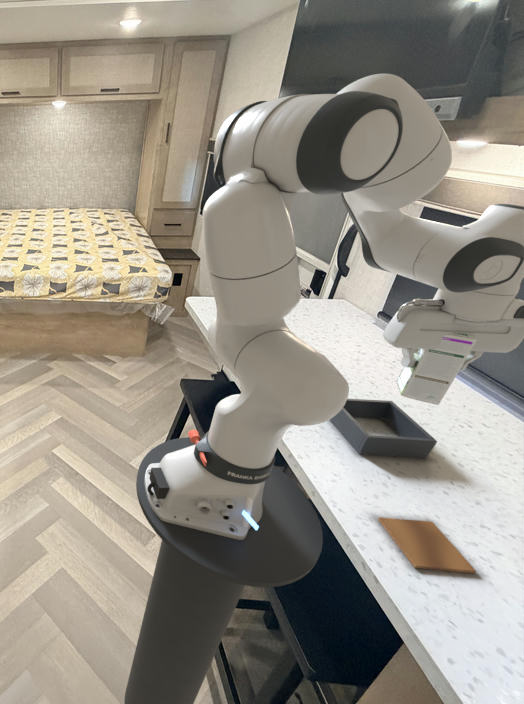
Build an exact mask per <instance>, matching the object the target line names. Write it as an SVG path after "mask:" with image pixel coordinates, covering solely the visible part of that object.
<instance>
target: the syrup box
mask: <svg viewBox="0 0 524 704" xmlns="http://www.w3.org/2000/svg"><path fill="white" fill-rule="evenodd" d="M476 342H477V339H476V338H475V337H474V335H470V334H458V333H448V334H447V335H444V336H443V338H442V340H441V342H440V344H439V346H438V347H437V348H436V349H419V351H418V353H414V358H415V359H417V360H418V363H417V364H416V367H415V368H408V367H404V366H403V368H402V370H401V372H400V374H399V375H398V378H397V379H396V385H397V388H398V390H399V392H400V395H401V397H404V398H408V399H410V400H414V401H419V402H423V403H428V404H431V405H436V406H439V405H440V403H441V401H442V400H443V398H444V397H445V395H446V394H447V392H448V390H449V389H450V387H451V385H452V384H453V382H454V381H455V379H456V377H457V375H458V373H459V372H460V371H461V370H460V369H461V367H462V365H463V363H464V362H465V360H466V358H467V357H468V355H469V353H470V351H471V350H472V348H473V346H474V345H475V343H476Z"/></svg>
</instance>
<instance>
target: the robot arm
mask: <svg viewBox="0 0 524 704" xmlns="http://www.w3.org/2000/svg"><path fill="white" fill-rule="evenodd" d="M452 162H453V148H452V145H451V141H450V139H449V136H448V134H447V133H446V131H445V129H444V128H443V126H442V123H441V122H440V120H439V118H438V117H437V116H436V113H435V112H434V111H433V108H431V106H430V105H429V104H428V102H427V101H426V100H425V99H424V97H422V95H421V94H420V93H419V92H418V91H417V90H416V89H415V87H413V86H411V85H410V84H409V83H408V82H407V81H406V80H404V78H402V77H400V76H398V75H397V74H393V73H376V74H370V75H367V76H364V77H362V78H359V79H356V80H355V81H352V82H351V83H349V84H348V85H346V86H344V87H343V88H341V89H340V90H339V91H338V92H336V93H318V94H317V93H316V94H309V93H299V94H294V95H287V96H282V97H279V98H275V99H271V100H260V101H255V102H252V103H250V104H248V105H245V106H244V107H241V108H240V109H238V110H236V111H234V112H233V113H231V114H230V115H229V116H228V117H227V118H226V119H225V120H224V122H223V123H222V124H221V126H220V128H219V130H218V131H217V135H216V138H215V142H214V147H213V166H214V168H213V174H212V175H213V179H214V181H215V183H216V185H217V186H218V188H219V189H217V190H216V191H214V192H213V193H212V194H211V195H210V196H209V197H208V199H207V200H206V201H205V203H204V206H203V209H202V224H201V225H202V226H201V227H202V243H203V250H204V251H203V252H204V257H205V263H206V267H207V272H208V276H209V279H210V283H211V289H212V292H213V297H214V301H215V307H216V316H214V318H213V319H212V320H211V322H210V323H209V325H208V329H207V340H208V342H209V344H210V346H211V348H212V350H213V352H214V354H215V355H216V357H217V358H218V359H219V361H220V362H221V363H222V364H223V365H224V366H225V367H226V368H227V369H228V370H229V371H230V372H231V373H232V374H233V375H234V377H235V378H237V379H238V381H239V383H240V390H241V391H240V393H237V394H236V393H235V394H231V395H229V396H226V397H224V398H223V399H221V400H220V401H219V402H217V404H216V405H215V407H214V408H215V409H214V412H213V416H212V419H211V423H210V427H209V430H208V431H207V432H205V433H204V435H202V437H201V436H200V433H199V431H198V430H197V429H190V430H188V432H187V435H188V437H190V441H191V442H192V443H195V445H192V446H189V447H187V448H184V449H181V450H178V451H175V452H171V453H168V454H166V455H165V456H164V457H163V458H162V460H161V462H160V463H153V464H150V465H149V466H148V468H147V470H146V473H145V479H144V482H145V490H146V494H147V498H148V501H149V503H150V506H151V508H152V509H153V511H154V512H155V514H156V515H157V516H158V517H159V518H160V519H161V520H162V521H164V522H168V523H172V524H176V525H180V526H184V527H188V528H192V529H197V530H201V531H205V532H209V533H213V534H217V535H221V536H225V537H229V538H233V539H237V540H243V539H245V537H246V535H247V533H248V530H249V529H250V528H251V527H252V526H253V527H254V529H255V530H258V527H259V526H258V525H257V524H256V523H258V522H259V520H260V519H261V517H262V513H263V508H262V496H263V489H264V485H265V480H267V479H268V477H269V476H270V473H271V471H272V468H273V465H274V466H275V462H276V452H277V450H278V447H279V445H280V443H281V441H282V439H283V437H284V434H285V433H286V431H288V429H290V428H291V427H293V426H298V427H299V426H300V427H310V426H316V425H320V424H323V423H326V422H328V421H330V419H331V418H333V417H334V416H336V415H337V414H338V413H339V412H340V411H341V409H342V408H343V407H344V405H345V403H346V401H347V399H349V393H350V386H349V382H348V381H347V379H346V378H345V377H344V375H343V374H342V373H341V372H340V371H339V369H338V368H336V366H335V365H334V364H333V363H332V362H331V360H329V358H328V357H326V355H324V354H323V353H322V352H320V351H318V350H317V349H316V348H314V347H313V346H311V345H310V344H308V342H306V341H305V340H303V339H302V338H300V337H299V336H297V335H296V334H295V333H293V332H292V331H291V329H290V328H289V327H288V325H287V323H286V322H285V317H286V316H288V315H289V314H290V313H291V312H292V311H293V310H294V309H296V308H297V306H298V305H299V303H300V301H301V298H302V288H301V279H300V269H299V260H298V253H297V245H296V240H295V239H296V238H295V233H294V228H293V224H292V221H291V213H292V208H293V203H294V201H295V198H296V197H297V194H298V193H312V194H315V195H322V196H324V195H325V196H326V195H337V194H340V197H341V200H342V203H343V205H344V207H345V209H346V211H347V213H348V215H349V218H350V219H351V221H352V223H353V224H354V226H355V228H356V230H357V232H358V235H359V237H360V241H361V250H362V251H361V252H362V256H363V259H364V262H365V263H366V264H367V265H368V267H371V268H373V269H377V270H381V271H384V272H388V273H392V274H396V275H398V276H401V277H404V278H407V279H410V280H412V281H414V282H415V281H416V282H419V283H421V284H424V285H427V286H431V287H433V288H436V289H437V290H436V292H435V294H434V296H433V298H432V299H423V298H414V299H411V300H410V301H407V302H406V303H403V304H401V305H400V307H399V309H398V311H396V313H394V315H393V317H392V318H391V319H390V321H388V324H387V325H386V326H385V328H384V330H383V332H382V338H383V339H384V341H385V342H386V343H388V344H389V345H390V346H392V347H394V348H397V349H400V350H401V353H402V357H401V360H400V362H399V363H400V365H401V366H403V368H404V367H408V368H415V367H416V364H417V363H418V360H417V359H415V358H414V353H418V351H419V349H436V348H437V347H438V346H439V344H440V342H441V340H442V338H443V336H444V335H447V334H448V333H458V334H470V335H474V337H475V338H476V339H477V342H476V343H475V345H474V346H473V348H472V350H471V351H470V353H469V355H468V357H467V358H466V360H465V362H464V363H463V365H462V367H461V369H460V370H459V371H465V370H466V369H467V367H468V365H469V364H471V363H472V362H475V361H476V360H478V359H479V358H481V357H482V355H483V354H484V353H499V354H507V353H509V352H512V351H513V350H515V349H517V348H518V347H519V346H520V345H521V343H522V342H523V340H524V300H523V299H521V298H518V297H517V295H518V293H519V291H520V288H521V283H522V281H523V279H524V206H523V205H516V204H510V203H495V204H491V205H489V206H488V207H487V208H486V209H485V210H484V211H483V213H482V214H481V215H480V217H479V218H478V219H477V220H476V221H473V222H471V223H468V224H465V225H461V226H457V225H452V224H448V223H443V222H437V221H433V220H429V219H424V218H420V217H418V216H414V215H412V214H407V213H405V212H404V211H402V209H401V208H405V207H407V206H410V205H411V204H414V203H415V202H418V201H419V200H420V199H422V198H424V197H425V196H427V195H428V194H429V193H431V192H432V191H433V190H434V189H435V188H437V187H438V185H439V184H440V183H441V182H442V181H443V179H444V178H445V177H446V175H447V174H448V172H449V171H450V169H451V166H452ZM149 474H150V475H149ZM156 506H158V507H156ZM230 530H232V531H233V532H232V531H230Z"/></svg>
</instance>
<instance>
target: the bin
mask: <svg viewBox="0 0 524 704" xmlns="http://www.w3.org/2000/svg"><path fill="white" fill-rule="evenodd" d="M355 418H365V419H380V420H381V419H382V420H383V421H384V422H385V423H386V424H387V425H388V426H389V427H390V428H391V429H392V430H393V431H394V432H395V433H396V434H397V435H398V436H391V435H375V434H369V433H368V432H367V431H366V430H365V428H364V427H363V426H361V424H360V423H359V422H358V421H357V420H356V419H355ZM329 421H330V422H331V423H332V424H333V426H334V427H335V428H336V430H338V432H339V433H340V434H341V436H343V437H344V439H345V440H346V441H347V442H348V443H349V445H350V446H351V447H352V448H353V449H354V450H355V451H356V452H357V454H358V455H365V456H366V455H369V456H380V457H381V456H382V457H383V456H384V457H399V458H414V459H416V458H417V459H427V458H428V457H429V455H430V454H431V452H432V451H433V450H434V447H435V446H436V444H437V443H438V441H437V439H435V438H434V437H433V436H432V435H431V434H429V433H428V431H427V430H426V429H424V428H423V427H422V426H421V425H420V424H419V423H417V421H416V420H414V419H413V418H412V417H410V415H409V414H408V413H406V412H405V411H404V410H403V409H402V408H400V407H399V405H397V404H396V403H395V402H394V401H393V400H385V399H384V400H381V399H363V398H362V399H360V398H348V399H347V401H346V403H345V405H344V407H343V408H342V409H341V411H340V412H339V413H338V414H337V415H336V416H334V417H333V418H331V419H330V420H329Z"/></svg>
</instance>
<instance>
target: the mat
mask: <svg viewBox="0 0 524 704" xmlns="http://www.w3.org/2000/svg"><path fill="white" fill-rule="evenodd" d="M377 521H378V522H379V523H380V524H381V526H382V528H383V529H384V530H385V531H386V532H387V534H388V535H389V536H390V538H391V539H392V540H393V542H394V543H395V544H396V547H398V548H399V549H400V550H399V551H401V552H402V554H403V555H404V556H405V557H406V559H407V560H408V561H409V563H410V564H411V565H412V567H413V568H414V569H421V570H422V569H423V570H433V571H443V572H444V571H445V572H457V573H467V574H476V573H477V570H476V569H475V568H474V566H472V565H471V563H469V560H467V559H466V558H465V557H464V556H463V554H462V553H461V552H460V551H459V550H458V548H456V547H455V545H454V544H453V543H452V542H451V541H450V540H449V539H448V537H447V536H446V535H445V534H444V533H443V532H442V531H441V530H440V529H439V527H438V526H437V525H436V524H435V523H434V522H433V521H430V520H429V521H427V520H417V519H416V520H415V519H404V518H403V519H402V518H392V517H391V518H389V517H378V518H377Z"/></svg>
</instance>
